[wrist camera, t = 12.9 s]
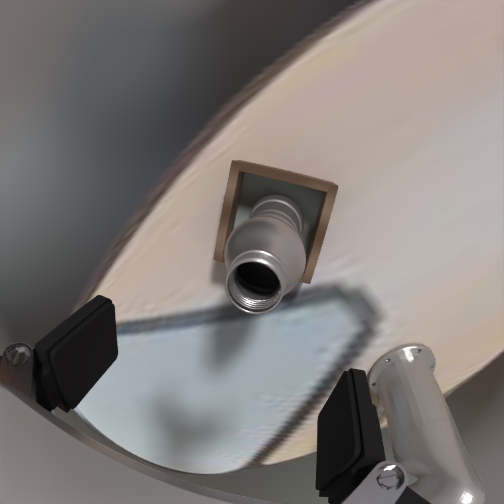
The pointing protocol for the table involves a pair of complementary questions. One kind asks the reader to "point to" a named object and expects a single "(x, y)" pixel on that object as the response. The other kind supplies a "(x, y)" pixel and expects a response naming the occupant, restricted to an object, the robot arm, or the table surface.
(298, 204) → the square wooden frame
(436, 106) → the table surface
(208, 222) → the table surface
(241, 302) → the silver rounded threaded piece
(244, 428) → the table surface
